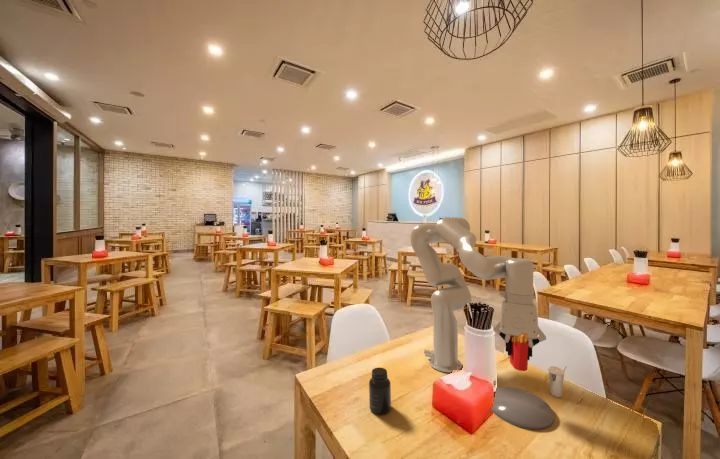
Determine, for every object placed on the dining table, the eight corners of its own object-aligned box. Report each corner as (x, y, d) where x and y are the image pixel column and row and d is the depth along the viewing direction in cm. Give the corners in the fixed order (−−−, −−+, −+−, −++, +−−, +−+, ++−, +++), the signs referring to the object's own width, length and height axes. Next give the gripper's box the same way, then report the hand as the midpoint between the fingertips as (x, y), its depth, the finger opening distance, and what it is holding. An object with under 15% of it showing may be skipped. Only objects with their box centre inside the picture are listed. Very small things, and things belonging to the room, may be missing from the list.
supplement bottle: (379, 398, 93) (378, 363, 93) (395, 408, 88) (395, 370, 88) (364, 408, 88) (364, 371, 88) (381, 419, 83) (380, 379, 83)
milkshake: (570, 399, 92) (570, 369, 91) (551, 397, 93) (551, 368, 93) (562, 391, 96) (563, 362, 96) (545, 389, 97) (545, 361, 97)
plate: (483, 414, 85) (483, 409, 85) (491, 385, 100) (491, 381, 100) (555, 438, 75) (555, 433, 75) (552, 402, 90) (552, 398, 90)
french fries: (507, 359, 92) (508, 322, 92) (520, 360, 91) (521, 323, 91) (516, 372, 83) (517, 332, 83) (531, 373, 83) (532, 334, 82)
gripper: (487, 297, 88) (487, 354, 89) (552, 305, 79) (551, 369, 80) (491, 292, 95) (490, 345, 95) (551, 299, 85) (550, 358, 86)
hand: (518, 355), depth 87 cm, fingers closed on french fries, 4 cm apart
